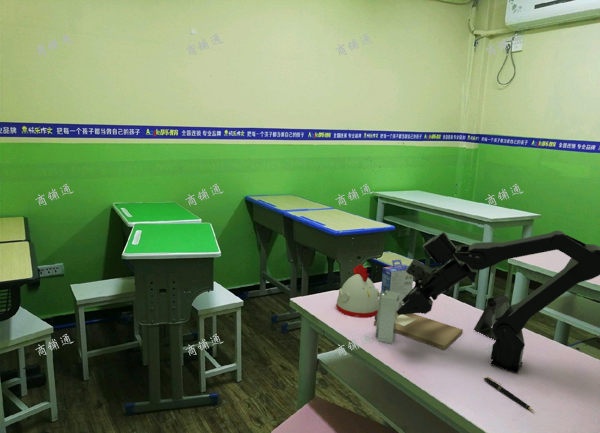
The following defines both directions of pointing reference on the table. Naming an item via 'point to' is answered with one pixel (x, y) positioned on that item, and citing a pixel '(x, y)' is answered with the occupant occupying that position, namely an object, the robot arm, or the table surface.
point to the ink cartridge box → (397, 279)
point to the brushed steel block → (387, 316)
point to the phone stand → (489, 316)
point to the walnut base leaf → (426, 330)
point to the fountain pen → (506, 392)
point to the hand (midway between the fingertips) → (400, 307)
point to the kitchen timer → (358, 295)
